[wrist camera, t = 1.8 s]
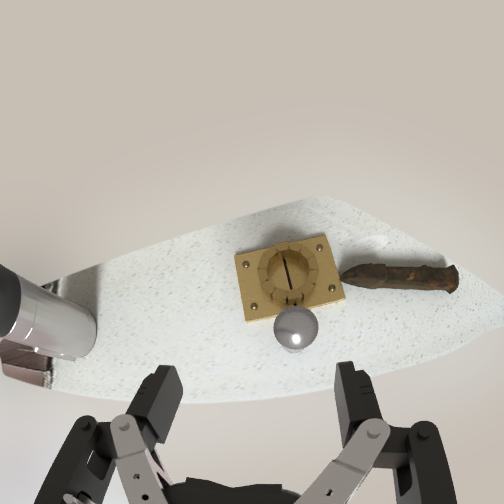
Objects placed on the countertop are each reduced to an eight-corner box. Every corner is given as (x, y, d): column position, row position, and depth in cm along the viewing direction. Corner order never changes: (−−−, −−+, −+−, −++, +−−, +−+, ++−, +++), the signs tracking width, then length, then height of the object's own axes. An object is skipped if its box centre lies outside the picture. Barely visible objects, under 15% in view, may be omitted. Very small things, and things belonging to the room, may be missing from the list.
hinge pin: (297, 362, 34) (300, 358, 25) (271, 343, 36) (264, 331, 26) (317, 336, 35) (327, 322, 26) (291, 317, 37) (291, 297, 28)
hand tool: (447, 272, 36) (460, 260, 32) (449, 295, 35) (463, 286, 30) (339, 263, 40) (344, 249, 36) (338, 289, 38) (344, 278, 34)
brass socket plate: (246, 322, 38) (242, 317, 34) (235, 258, 42) (230, 247, 39) (344, 299, 37) (349, 291, 34) (325, 238, 41) (327, 225, 38)
